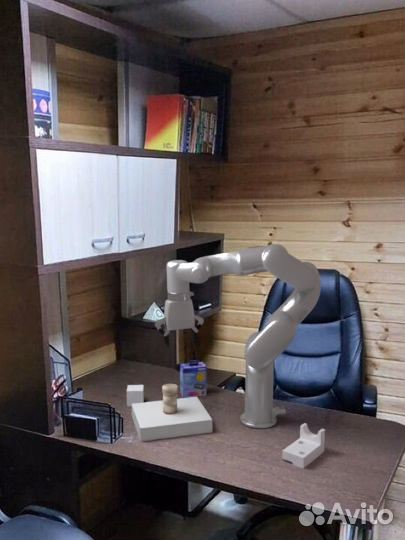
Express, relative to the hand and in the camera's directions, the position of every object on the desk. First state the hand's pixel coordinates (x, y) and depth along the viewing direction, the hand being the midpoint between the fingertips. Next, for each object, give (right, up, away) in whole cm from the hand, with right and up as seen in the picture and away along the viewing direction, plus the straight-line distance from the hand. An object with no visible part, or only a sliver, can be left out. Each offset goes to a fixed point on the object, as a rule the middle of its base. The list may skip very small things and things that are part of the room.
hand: (180, 344), depth 190 cm
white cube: (-18, -24, +16) cm, 34 cm away
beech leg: (-3, -27, -2) cm, 27 cm away
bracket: (+38, -31, -23) cm, 55 cm away
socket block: (-3, -27, -2) cm, 27 cm away
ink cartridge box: (+4, -23, +24) cm, 33 cm away
